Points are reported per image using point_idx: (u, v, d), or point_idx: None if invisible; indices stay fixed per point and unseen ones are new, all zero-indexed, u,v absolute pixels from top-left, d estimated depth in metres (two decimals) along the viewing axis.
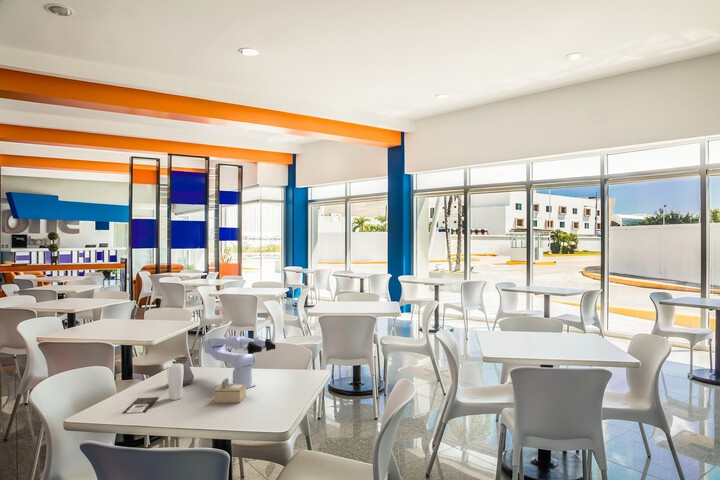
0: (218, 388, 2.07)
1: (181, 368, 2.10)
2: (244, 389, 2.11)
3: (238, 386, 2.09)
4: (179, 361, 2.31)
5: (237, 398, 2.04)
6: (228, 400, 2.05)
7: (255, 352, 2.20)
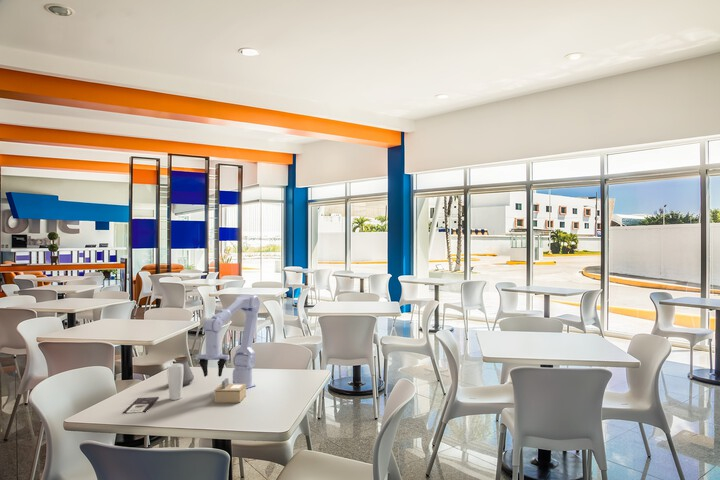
0: (218, 388, 2.07)
1: (181, 368, 2.10)
2: (244, 389, 2.11)
3: (238, 386, 2.09)
4: (179, 361, 2.31)
5: (237, 398, 2.04)
6: (228, 400, 2.05)
7: None
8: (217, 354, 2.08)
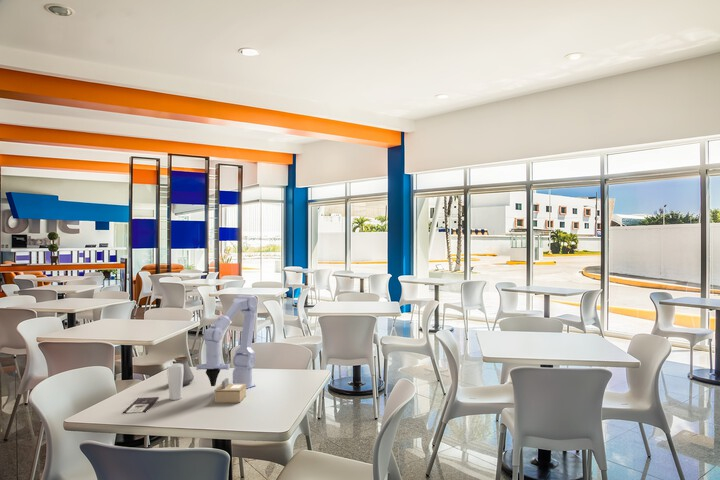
0: (218, 388, 2.07)
1: (181, 368, 2.10)
2: (244, 389, 2.11)
3: (238, 386, 2.09)
4: (179, 361, 2.31)
5: (237, 398, 2.04)
6: (228, 400, 2.05)
7: None
8: (217, 364, 2.08)
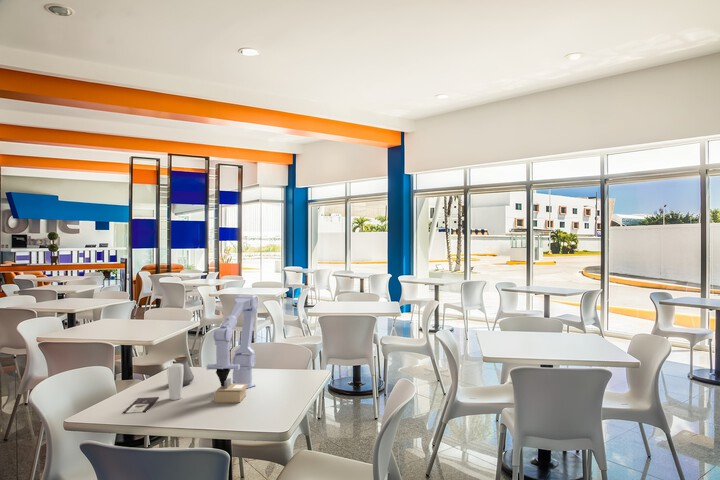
0: (220, 388, 2.07)
1: (181, 368, 2.10)
2: (244, 389, 2.11)
3: (240, 386, 2.09)
4: (179, 361, 2.31)
5: (237, 398, 2.04)
6: (228, 400, 2.05)
7: None
8: (227, 364, 2.08)
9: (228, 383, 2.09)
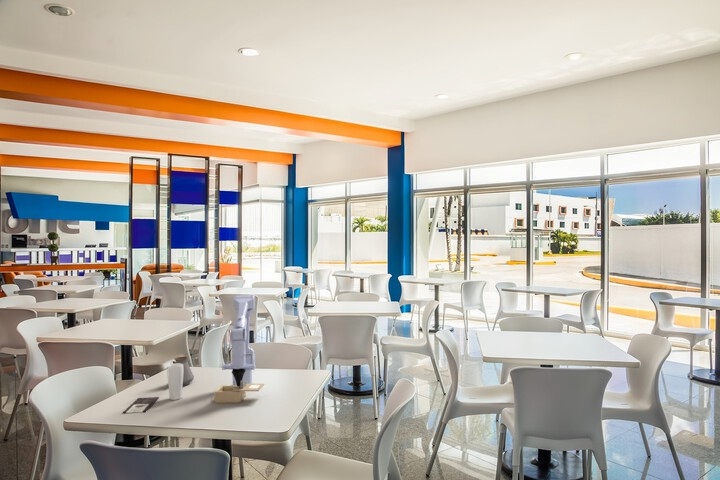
0: (236, 388, 2.07)
1: (181, 368, 2.10)
2: None
3: (256, 386, 2.09)
4: (179, 361, 2.31)
5: (237, 398, 2.04)
6: (228, 400, 2.05)
7: None
8: (243, 364, 2.08)
9: (244, 383, 2.08)
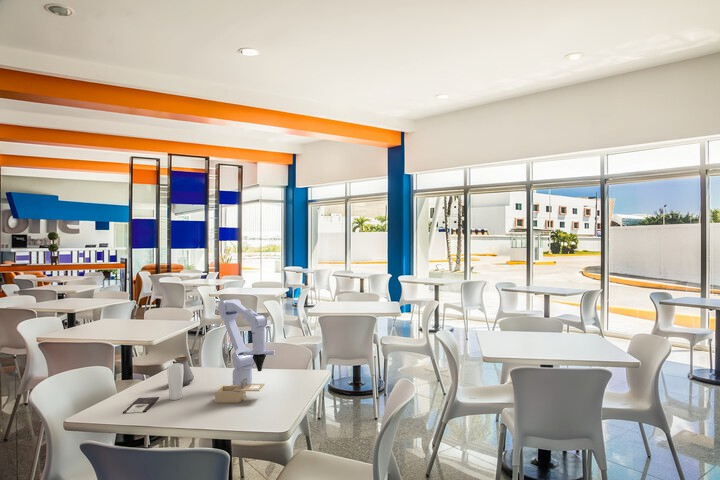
0: (237, 388, 2.07)
1: (181, 368, 2.10)
2: None
3: (256, 386, 2.09)
4: (179, 361, 2.31)
5: (237, 398, 2.04)
6: (228, 400, 2.05)
7: None
8: (263, 349, 2.18)
9: (244, 383, 2.08)
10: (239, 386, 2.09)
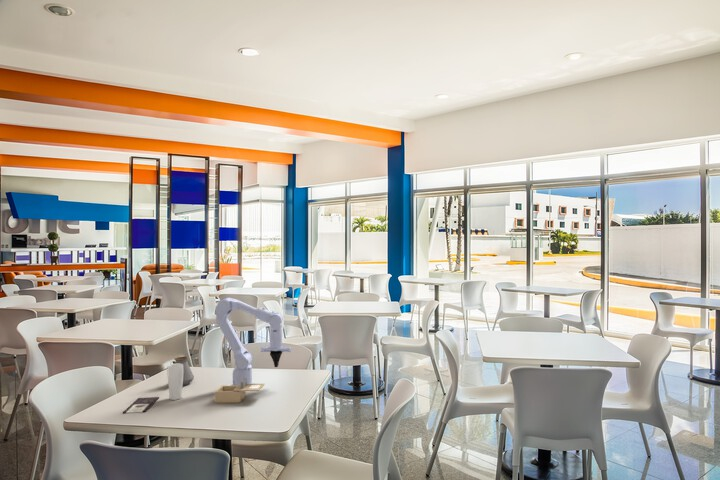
0: (237, 388, 2.07)
1: (181, 368, 2.10)
2: None
3: (256, 386, 2.09)
4: (179, 361, 2.31)
5: (237, 398, 2.04)
6: (228, 400, 2.05)
7: None
8: (280, 346, 2.27)
9: (244, 383, 2.08)
10: (239, 386, 2.09)
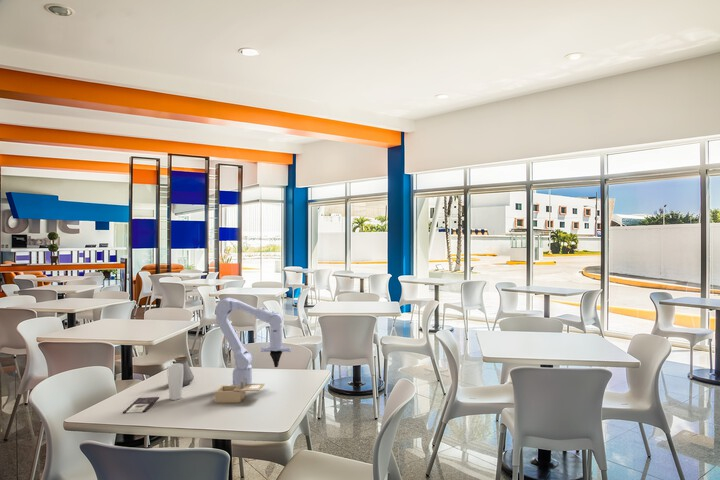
0: (237, 388, 2.07)
1: (181, 368, 2.10)
2: None
3: (256, 386, 2.09)
4: (179, 361, 2.31)
5: (237, 398, 2.04)
6: (228, 400, 2.05)
7: None
8: (280, 346, 2.27)
9: (244, 383, 2.08)
10: (239, 386, 2.09)
